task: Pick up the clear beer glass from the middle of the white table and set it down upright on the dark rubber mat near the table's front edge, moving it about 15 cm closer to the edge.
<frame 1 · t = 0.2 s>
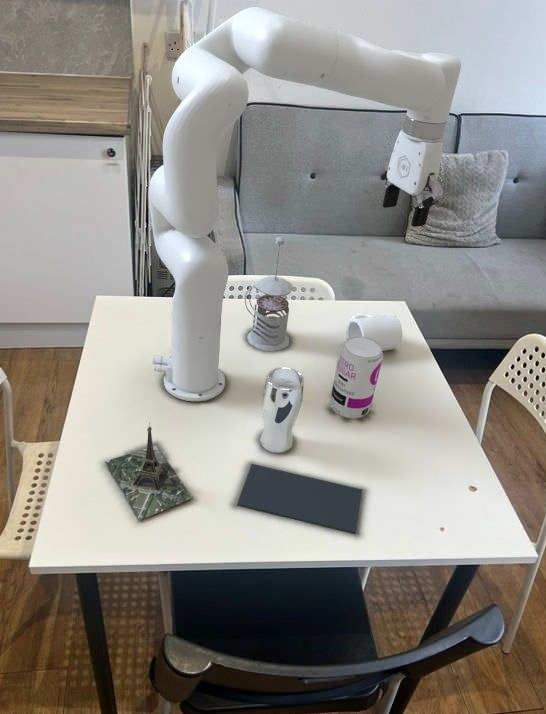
hand: (403, 215, 129), 31 cm above the table, tool pointing down, fingers open, 9 cm apart
beer glass: (276, 442, 120), on the table
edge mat: (300, 497, 109), on the table
supplement can: (349, 408, 130), on the table
eiffel tower figurine: (147, 482, 109), on the table
french press: (265, 338, 147), on the table
mug: (366, 344, 149), on the table
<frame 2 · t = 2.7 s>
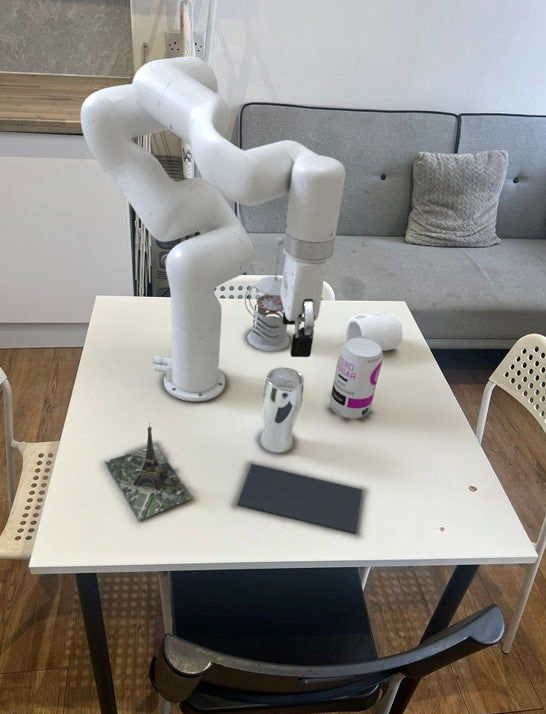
hand: (295, 339, 106), 23 cm above the table, tool pointing down, fingers open, 9 cm apart
nothing on the table moved.
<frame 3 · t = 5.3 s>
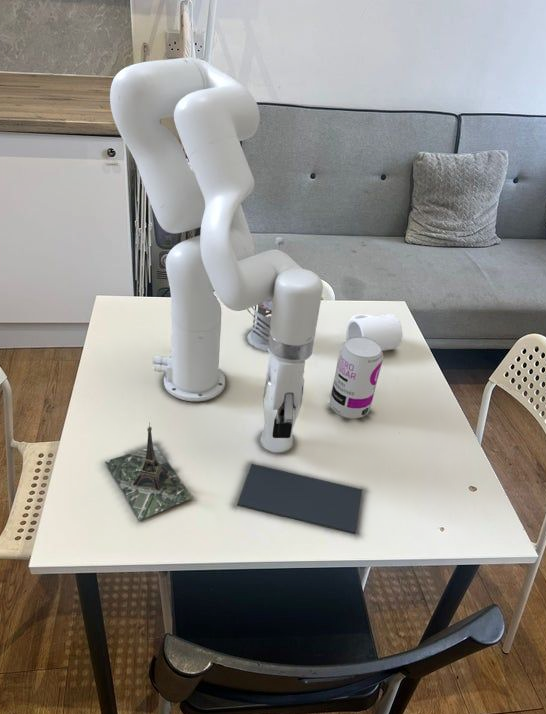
hand: (279, 423, 117), 5 cm above the table, tool pointing down, fingers closed on beer glass, 6 cm apart
beer glass: (276, 442, 120), on the table, touching gripper
everything else where it was.
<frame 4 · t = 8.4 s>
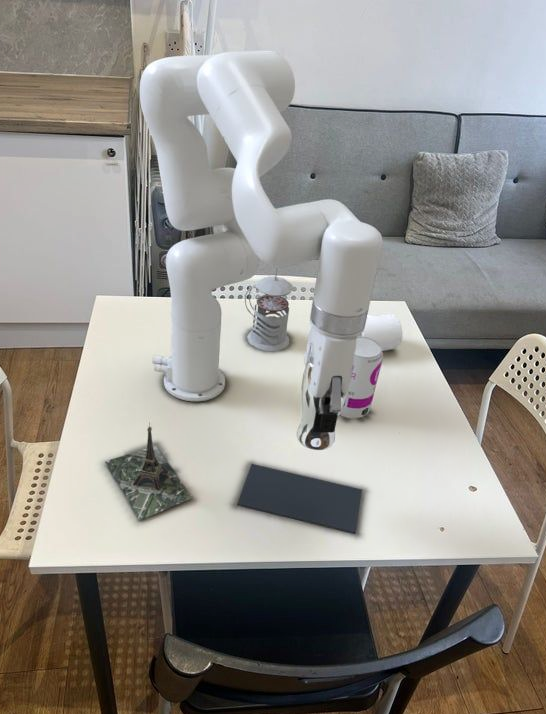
hand: (319, 414, 97), 19 cm above the table, tool pointing down, fingers closed on beer glass, 6 cm apart
beer glass: (315, 438, 100), point 14 cm above the table, touching gripper
everything else where it was.
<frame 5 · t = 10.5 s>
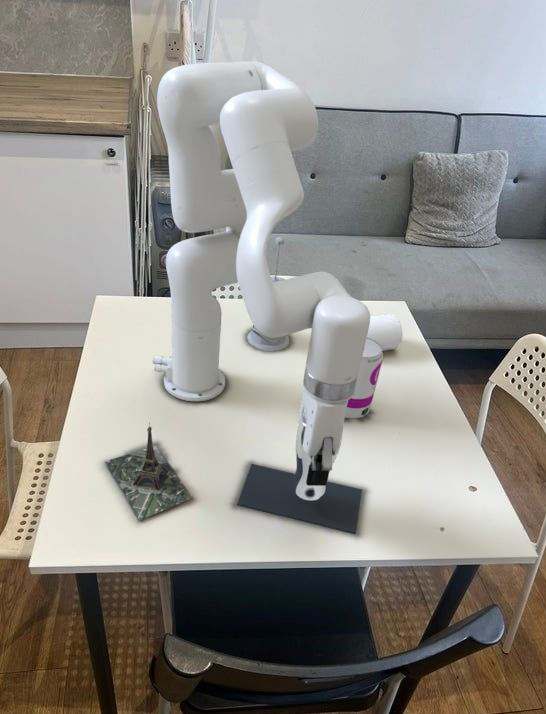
hand: (312, 467, 103), 9 cm above the table, tool pointing down, fingers closed on beer glass, 6 cm apart
beer glass: (309, 488, 106), point 4 cm above the table, touching gripper
everything else where it was.
when the fingers open (5 cm above the table, at t = 12.0 s): beer glass stays where it is, resting on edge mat.
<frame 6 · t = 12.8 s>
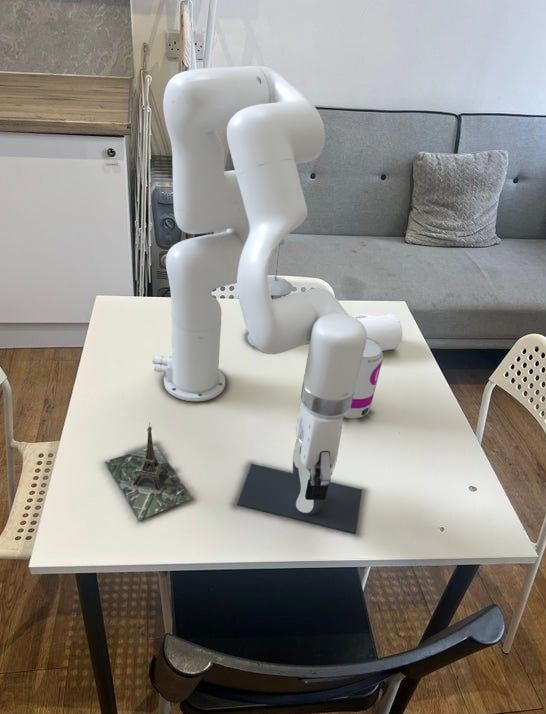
hand: (310, 476, 104), 7 cm above the table, tool pointing down, fingers open, 9 cm apart
beer glass: (305, 502, 108), resting on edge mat
everything else where it was.
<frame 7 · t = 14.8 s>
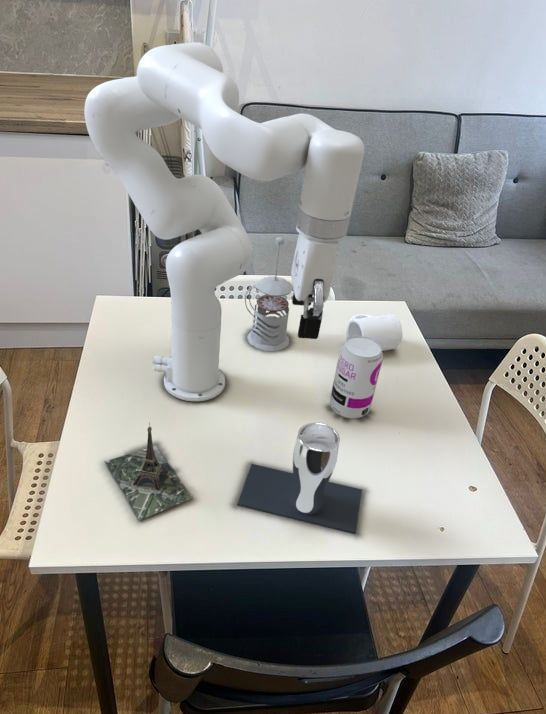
hand: (304, 320, 104), 26 cm above the table, tool pointing down, fingers open, 9 cm apart
nothing on the table moved.
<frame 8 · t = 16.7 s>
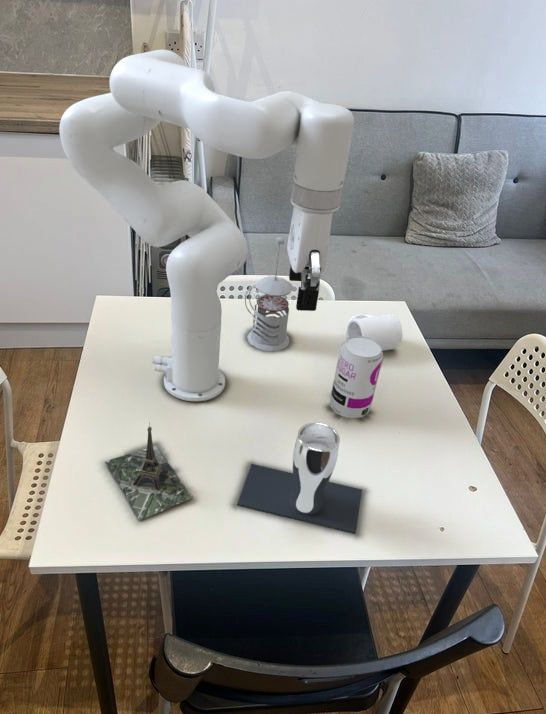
hand: (301, 294, 106), 28 cm above the table, tool pointing down, fingers open, 9 cm apart
nothing on the table moved.
at the end: beer glass inside the target area on the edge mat (1.4 cm from its centre), point 0.2 cm above the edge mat's base; beer glass tilted 0°; beer glass moved 15.7 cm from its start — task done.
